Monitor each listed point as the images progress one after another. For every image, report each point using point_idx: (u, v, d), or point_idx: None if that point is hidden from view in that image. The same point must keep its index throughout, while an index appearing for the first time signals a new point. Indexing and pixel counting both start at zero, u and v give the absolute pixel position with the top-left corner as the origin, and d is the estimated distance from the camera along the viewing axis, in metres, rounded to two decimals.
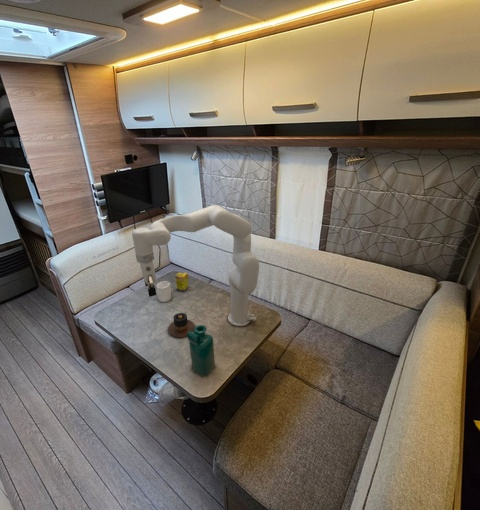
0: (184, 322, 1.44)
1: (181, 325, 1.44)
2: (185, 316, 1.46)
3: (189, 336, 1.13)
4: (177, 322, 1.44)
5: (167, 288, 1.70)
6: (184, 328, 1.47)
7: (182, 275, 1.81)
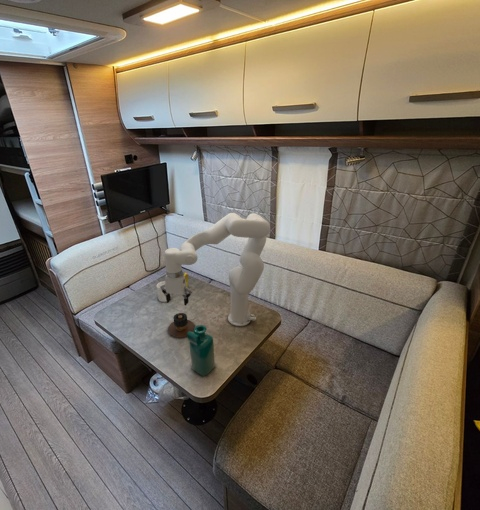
0: (184, 322, 1.44)
1: (181, 325, 1.44)
2: (185, 316, 1.46)
3: (189, 336, 1.13)
4: (177, 322, 1.44)
5: None
6: (184, 328, 1.47)
7: None
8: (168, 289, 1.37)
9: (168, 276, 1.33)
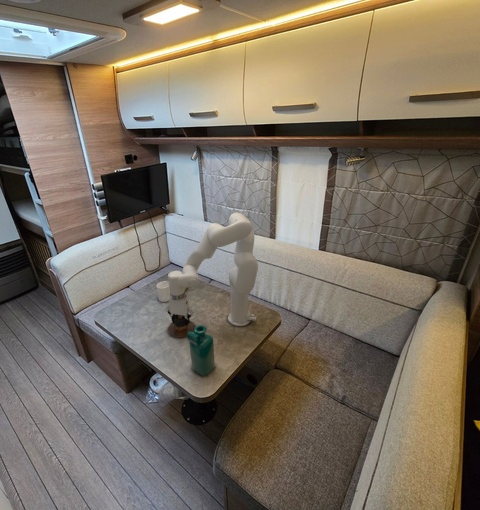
0: (184, 322, 1.44)
1: (181, 325, 1.44)
2: None
3: (189, 336, 1.13)
4: (177, 322, 1.44)
5: (167, 288, 1.70)
6: (184, 328, 1.47)
7: None
8: (171, 310, 1.43)
9: (171, 298, 1.38)
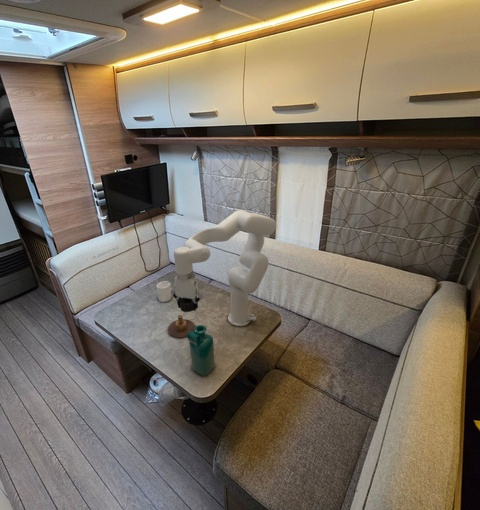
0: (192, 306, 1.27)
1: (188, 310, 1.27)
2: None
3: (189, 336, 1.13)
4: (184, 306, 1.26)
5: (167, 288, 1.70)
6: (184, 328, 1.47)
7: None
8: (178, 292, 1.26)
9: (178, 278, 1.21)
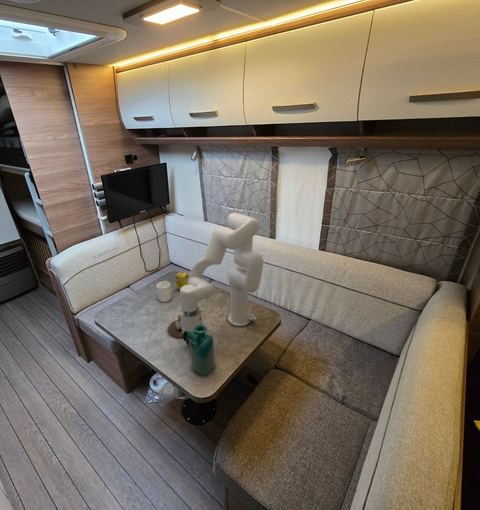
0: None
1: None
2: None
3: (189, 336, 1.13)
4: None
5: (167, 288, 1.70)
6: None
7: (182, 275, 1.81)
8: (183, 327, 1.31)
9: (184, 314, 1.26)
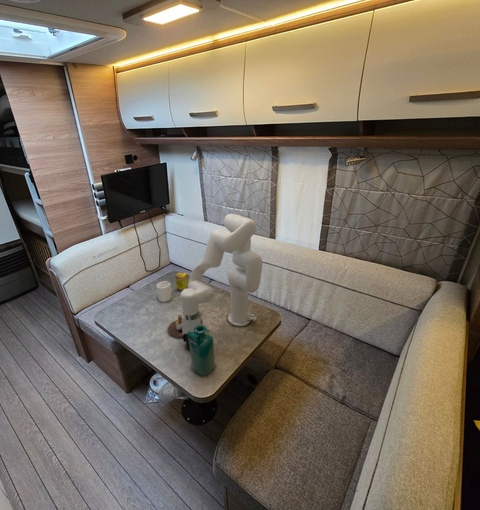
0: None
1: None
2: None
3: (189, 336, 1.13)
4: None
5: (167, 288, 1.70)
6: None
7: (182, 275, 1.81)
8: (185, 330, 1.32)
9: (185, 318, 1.27)
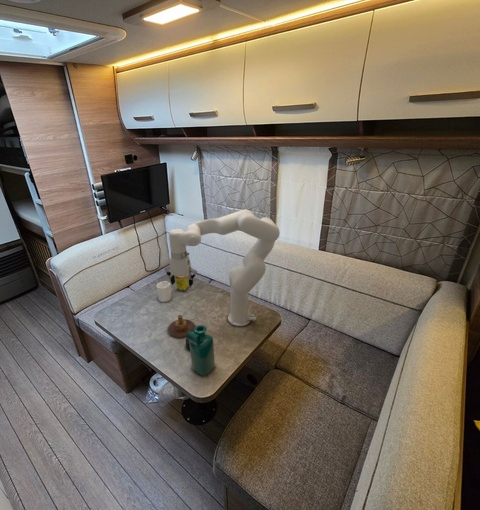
0: None
1: None
2: None
3: (189, 336, 1.13)
4: None
5: (167, 288, 1.70)
6: (184, 328, 1.47)
7: None
8: (173, 271, 1.38)
9: (173, 257, 1.33)
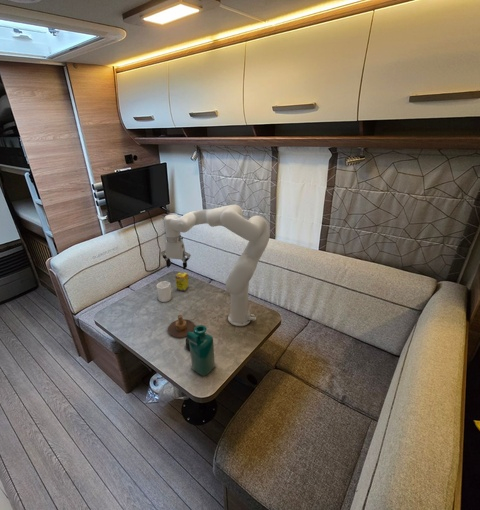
0: None
1: None
2: None
3: (189, 336, 1.13)
4: None
5: (167, 288, 1.70)
6: (184, 328, 1.47)
7: (182, 275, 1.81)
8: (168, 254, 1.49)
9: (168, 241, 1.44)
